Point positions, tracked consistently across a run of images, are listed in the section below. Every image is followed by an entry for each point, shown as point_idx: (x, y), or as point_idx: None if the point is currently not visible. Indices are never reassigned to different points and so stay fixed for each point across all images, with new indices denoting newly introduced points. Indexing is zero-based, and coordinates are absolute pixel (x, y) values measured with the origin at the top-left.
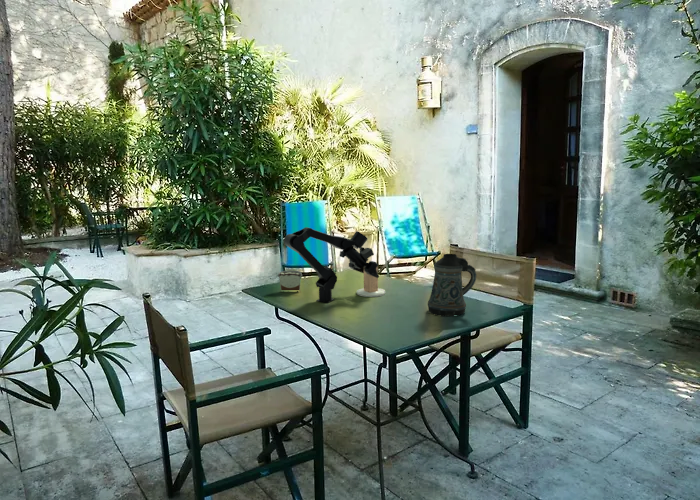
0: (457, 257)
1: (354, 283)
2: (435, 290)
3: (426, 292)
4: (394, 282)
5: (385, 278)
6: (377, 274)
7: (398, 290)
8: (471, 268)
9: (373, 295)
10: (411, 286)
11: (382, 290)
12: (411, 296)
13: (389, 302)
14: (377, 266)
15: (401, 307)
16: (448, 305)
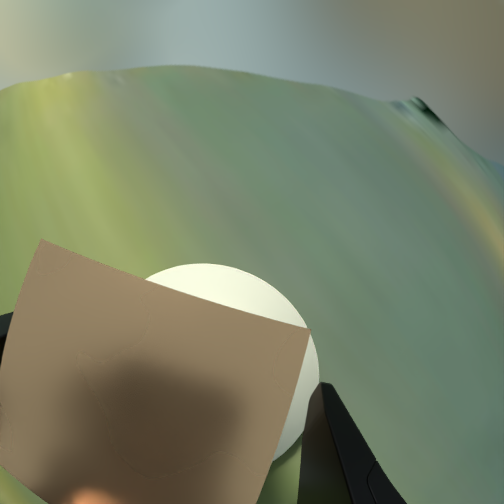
0: None
1: (5, 218)
2: None
3: (419, 160)
4: (169, 90)
5: (102, 78)
6: (349, 431)
7: (301, 192)
8: None
9: (291, 442)
10: (289, 102)
11: (266, 306)
12: (441, 263)
13: (437, 444)
14: (300, 341)
15: (498, 442)
16: None
